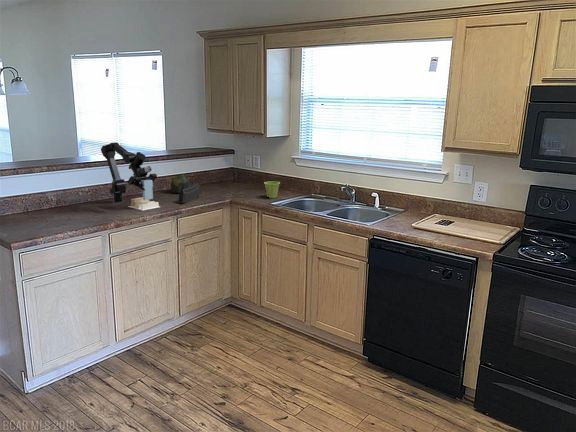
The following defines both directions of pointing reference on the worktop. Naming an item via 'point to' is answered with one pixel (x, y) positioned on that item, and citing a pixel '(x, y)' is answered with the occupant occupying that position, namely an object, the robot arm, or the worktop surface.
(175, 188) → the squash
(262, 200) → the worktop surface
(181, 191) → the magazine
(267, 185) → the plant pot
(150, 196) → the blue rectangular block
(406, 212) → the worktop surface
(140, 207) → the rack
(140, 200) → the offcut stack
